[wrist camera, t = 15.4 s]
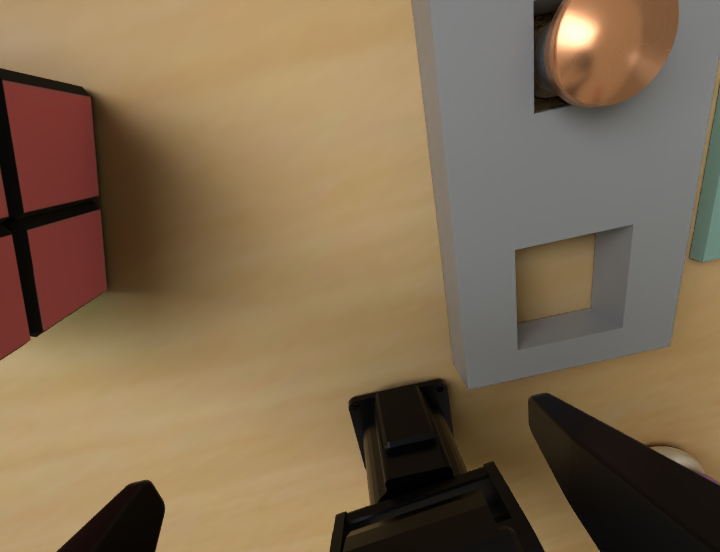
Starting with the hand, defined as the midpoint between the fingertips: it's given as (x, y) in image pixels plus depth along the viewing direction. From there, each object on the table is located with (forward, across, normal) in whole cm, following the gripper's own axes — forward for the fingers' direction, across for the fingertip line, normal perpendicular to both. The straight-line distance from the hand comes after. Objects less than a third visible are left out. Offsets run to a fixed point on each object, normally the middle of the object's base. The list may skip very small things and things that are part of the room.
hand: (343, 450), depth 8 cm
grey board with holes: (+12, -12, -1) cm, 17 cm away
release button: (+12, -12, -8) cm, 19 cm away
